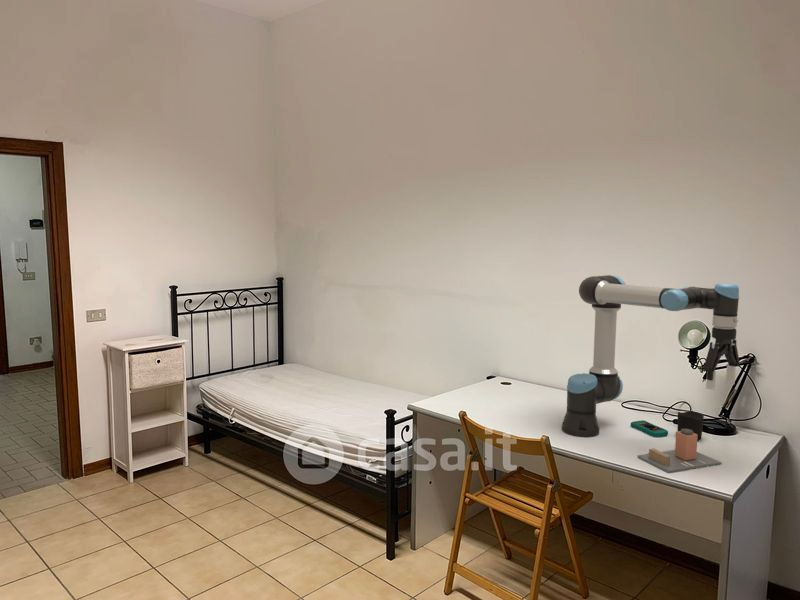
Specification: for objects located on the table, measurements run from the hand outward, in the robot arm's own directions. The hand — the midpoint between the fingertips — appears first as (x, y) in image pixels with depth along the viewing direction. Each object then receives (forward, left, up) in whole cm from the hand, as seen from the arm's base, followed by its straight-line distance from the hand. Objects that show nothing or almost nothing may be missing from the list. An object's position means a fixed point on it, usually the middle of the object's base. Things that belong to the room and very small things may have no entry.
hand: (720, 386), depth 207 cm
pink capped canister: (-7, -7, -27) cm, 29 cm away
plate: (-8, -10, -28) cm, 31 cm away
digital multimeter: (-33, +11, -29) cm, 45 cm away
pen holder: (-19, +17, -28) cm, 38 cm away
